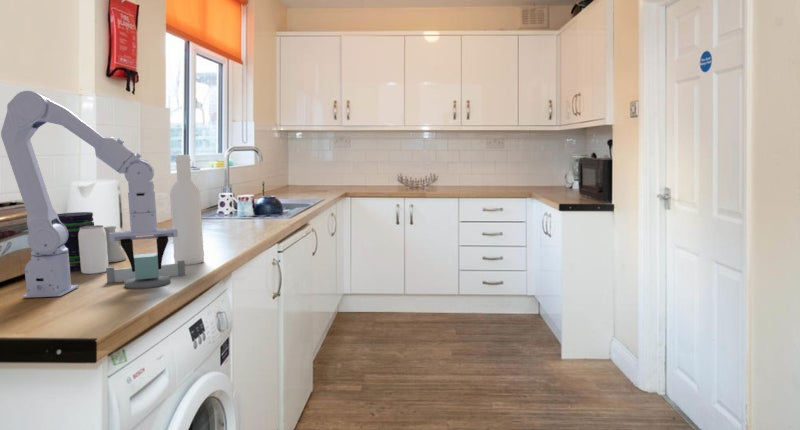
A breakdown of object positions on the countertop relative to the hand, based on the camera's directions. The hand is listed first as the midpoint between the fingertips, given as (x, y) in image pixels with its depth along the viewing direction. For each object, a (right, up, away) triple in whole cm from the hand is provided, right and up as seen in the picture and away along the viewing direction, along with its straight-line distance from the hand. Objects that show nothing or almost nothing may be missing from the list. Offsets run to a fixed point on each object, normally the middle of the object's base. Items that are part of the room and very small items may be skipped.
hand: (146, 269), depth 142 cm
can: (-21, -2, +17) cm, 27 cm away
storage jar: (-28, -2, +22) cm, 36 cm away
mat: (0, -3, 0) cm, 3 cm away
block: (0, -2, 0) cm, 2 cm away
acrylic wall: (-3, -3, +7) cm, 8 cm away
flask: (-24, -1, +34) cm, 41 cm away
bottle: (0, -1, +28) cm, 28 cm away
